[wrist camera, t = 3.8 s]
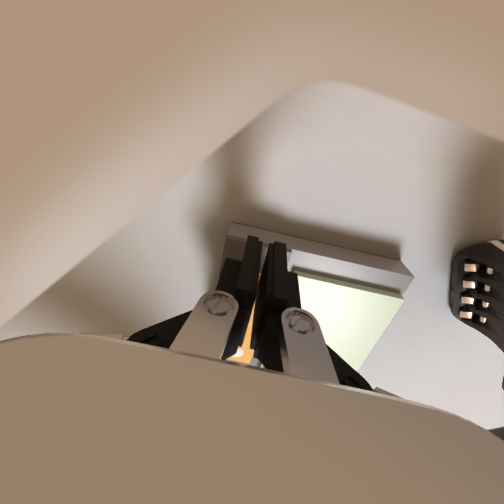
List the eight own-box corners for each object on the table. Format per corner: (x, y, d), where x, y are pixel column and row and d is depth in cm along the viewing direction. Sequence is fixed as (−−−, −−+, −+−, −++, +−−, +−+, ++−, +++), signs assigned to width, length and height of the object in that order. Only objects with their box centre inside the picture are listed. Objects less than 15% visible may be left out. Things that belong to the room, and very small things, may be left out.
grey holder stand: (334, 372, 25) (349, 436, 20) (208, 345, 24) (191, 404, 19) (400, 261, 18) (447, 315, 13) (231, 222, 18) (214, 264, 13)
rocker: (251, 348, 18) (249, 364, 17) (218, 341, 18) (214, 357, 17) (276, 276, 14) (275, 292, 13) (233, 267, 14) (229, 282, 13)
